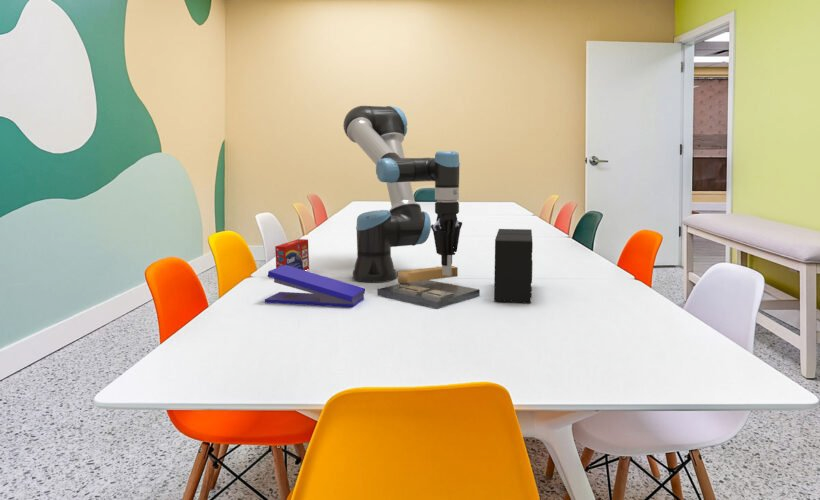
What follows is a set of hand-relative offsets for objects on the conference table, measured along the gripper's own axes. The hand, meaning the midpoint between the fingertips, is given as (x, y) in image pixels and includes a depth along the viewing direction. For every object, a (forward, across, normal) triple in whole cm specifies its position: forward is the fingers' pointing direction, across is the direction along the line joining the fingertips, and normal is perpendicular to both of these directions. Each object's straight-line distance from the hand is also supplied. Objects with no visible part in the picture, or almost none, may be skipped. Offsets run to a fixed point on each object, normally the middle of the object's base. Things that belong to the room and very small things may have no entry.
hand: (446, 275), depth 186 cm
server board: (+5, -10, -1) cm, 11 cm away
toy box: (+5, -18, +58) cm, 61 cm away
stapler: (+5, -37, +20) cm, 43 cm away
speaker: (+5, +10, -19) cm, 22 cm away
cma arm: (+1, -4, +5) cm, 6 cm away
